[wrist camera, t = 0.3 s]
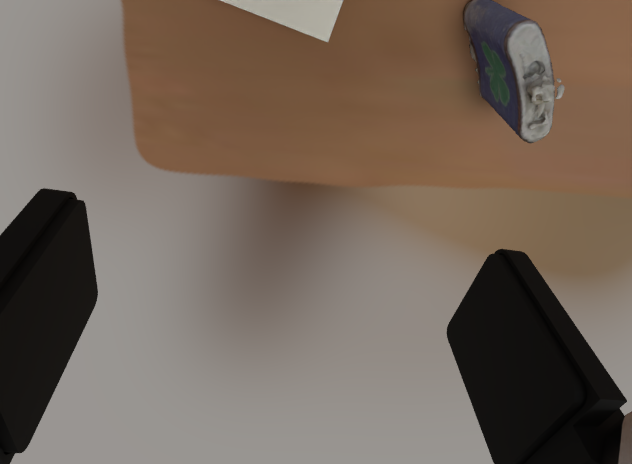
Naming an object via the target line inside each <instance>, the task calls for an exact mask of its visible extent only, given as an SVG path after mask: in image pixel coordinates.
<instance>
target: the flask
mask: <svg viewBox="0 0 632 464" xmlns="http://www.w3.org/2000/svg"><path fill="white" fill-rule="evenodd" d="M464 27H465V30H467V31H468V33H469V39H470V41H469V42H470V45H469V46H470V53H471V55H472V58H473V59H474V61H475V62H476V63H477V68H476V69H475V71H476V72H477V73H478V75H479V80H478V83H479V91H480V96H481V97H482V98H484V99H485V100H486V101H487V102H488V103H489V104H490V105H491V106H492V107H493V108H494V109H495V111H496V112H497V113H498V114H499V115H500V116H501V117H502V118H503V119H504V120H505V121H506V123H507V124H509V126H510V127H511V128H512V129H513V130H514V131H515V132H516V134H517V135H518V136H519V137H520V138H521V139H523V140H524V141H525V142H528V143H534V142H536V141H538V140H541V139H542V138H544V137H545V136H546V135H547V134H548V133H549V131H550V129H551V127H552V119H553V110H554V95H555V87H554V78H553V70H552V63H551V60H550V56H549V52H548V48H547V45H546V41H545V38H544V35H543V33H542V29H541V28H540V27H539V25H538V24H537V22H535V21H533V20H530V19H528V18H526V17H524V16H522V15H520V14H517V13H516V12H514V11H512V10H510V9H508V8H505V7H503V6H501V5H500V4H498V3H496V2H494V1H492V0H472V1H470V2H469V3H468V4H466V7H465V10H464ZM557 82H561V80H560V79H559V78H557ZM563 92H564V86H563V85H560V86H559V87H558V88H557V96H556V98H555V99H559V98H561V97H562V94H563Z"/></svg>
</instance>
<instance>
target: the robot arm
mask: <svg viewBox="0 0 632 464" xmlns="http://www.w3.org/2000/svg"><path fill="white" fill-rule="evenodd" d="M97 295H98V290H97V282H96V275H95V268H94V261H93V254H92V247H91V240H90V233H89V226H88V219H87V213H86V206H85V203H84V201H81V200H77V198H76V195H75V194H74V193H72V192H67V191H59V190H52V189H41V190H40V191H38V192H37V194H36V195H35V196H34V197H33V198H32V199H31V200H30V202H29V203H28V204H27V205H26V206H25V208H24V209H23V210H22V211H21V212H20V213H19V214H18V216H17V217H16V218H15V219H14V220H13V221H12V222H11V224H10V225H9V226H8V227H7V228H6V229H5V231H4V232H3V233H2V234H1V235H0V464H10V462H11V460H12V458H13V456H14V454H15V453H22V452H23V451H25V449H26V448H27V446H28V445H29V443H30V441H31V439H32V437H33V435H34V433H35V430H36V428H37V426H38V424H39V422H40V420H41V418H42V416H43V414H44V412H45V409H46V407H47V405H48V403H49V401H50V399H51V397H52V395H53V392H54V391H55V388H56V386H57V384H58V382H59V380H60V378H61V376H62V374H63V372H64V369H65V368H66V365H67V363H68V361H69V359H70V357H71V355H72V353H73V351H74V349H75V347H76V345H77V342H78V340H79V338H80V336H81V334H82V332H83V330H84V328H85V326H86V324H87V321H88V319H89V317H90V315H91V313H92V311H93V309H94V307H95V304H96V301H97ZM447 338H448V341H449V343H450V346H451V349H452V352H453V355H454V357H455V360H456V363H457V365H458V368H459V371H460V373H461V376H462V379H463V381H464V384H465V387H466V390H467V392H468V395H469V397H470V400H471V403H472V406H473V408H474V411H475V414H476V416H477V419H478V422H479V425H480V427H481V430H482V433H483V435H484V438H485V441H486V443H487V446H488V449H489V452H490V454H491V457H492V460H493V462H494V464H632V412H630V413H628V414H627V415H625V416H624V415H623V413H622V412H621V410H620V407H621V406H622V405H624V404H625V403H626V402H627V400H626V398H625V397H624V396H623V394H622V393H621V391H620V390H619V388H618V387H617V385H616V384H615V383H614V381H613V379H612V378H611V377H610V375H609V374H608V372H607V371H606V369H605V368H604V366H603V365H602V363H601V362H600V361H599V359H598V358H597V356H596V355H595V353H594V352H593V350H592V349H591V347H590V346H589V345H588V343H587V342H586V340H585V339H584V337H583V336H582V334H581V333H580V331H579V330H578V329H577V327H576V326H575V324H574V323H573V321H572V320H571V318H570V317H569V315H568V314H567V312H566V311H565V310H564V308H563V307H562V305H561V304H560V302H559V301H558V299H557V298H556V296H555V295H554V294H553V292H552V291H551V289H550V288H549V286H548V285H547V283H546V282H545V280H544V279H543V277H542V276H541V275H540V273H539V272H538V270H537V269H536V267H535V266H534V264H533V263H532V261H531V260H530V259H529V257H528V256H527V255H526V254H525V253H524V252H521V251H513V250H505V249H500V250H497V251H496V252H495V253H494V254H491V255H489V256H488V257H487V259H486V261H485V262H484V264H483V266H482V268H481V269H480V271H479V273H478V274H477V276H476V278H475V279H474V281H473V283H472V285H471V287H470V288H469V290H468V292H467V293H466V295H465V297H464V298H463V300H462V302H461V303H460V305H459V307H458V309H457V310H456V312H455V314H454V316H453V317H452V319H451V321H450V322H449V324H448V327H447Z"/></svg>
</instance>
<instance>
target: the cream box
mask: <svg viewBox="0 0 632 464" xmlns="http://www.w3.org/2000/svg"><path fill="white" fill-rule="evenodd" d="M220 1H223V2H226V3H228V4H231V5H233V6H236V7H238V8H241V9H244V10H246V11H249V12H251V13H254V14H256V15H259V16H261V17H264V18H267V19H269V20H272V21H274V22H277V23H279V24H282V25H285V26H287V27H290V28H292V29H295V30H297V31H300V32H302V33H305V34H308V35H310V36H313V37H315V38H318V39H320V40H323V41H325V42H328V40H329V38H330V35H331V32H332V30H333V27H334V24H335V21H336V19H337V16H338V13H339V11H340V8H341V5H342V2H343V0H220Z"/></svg>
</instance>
